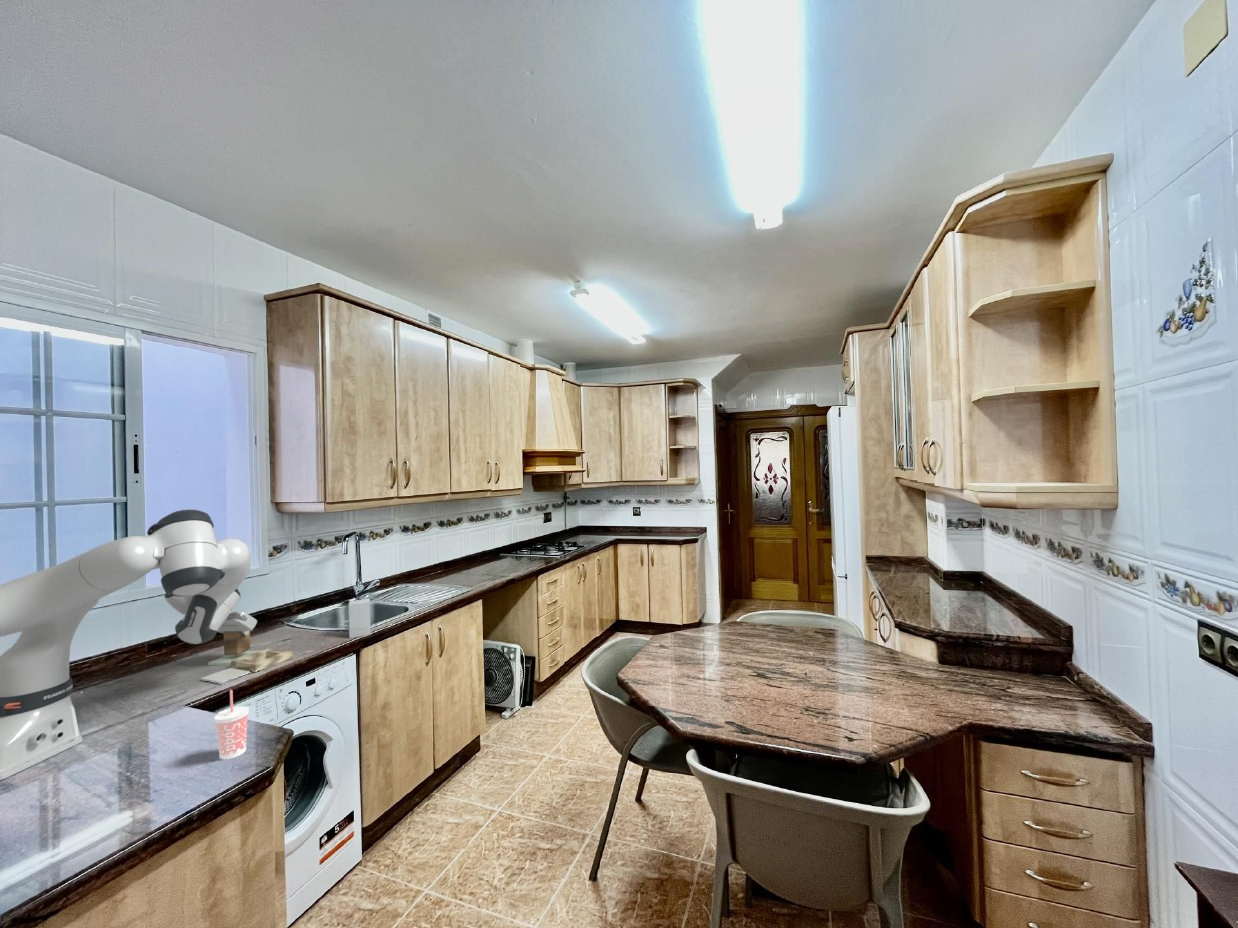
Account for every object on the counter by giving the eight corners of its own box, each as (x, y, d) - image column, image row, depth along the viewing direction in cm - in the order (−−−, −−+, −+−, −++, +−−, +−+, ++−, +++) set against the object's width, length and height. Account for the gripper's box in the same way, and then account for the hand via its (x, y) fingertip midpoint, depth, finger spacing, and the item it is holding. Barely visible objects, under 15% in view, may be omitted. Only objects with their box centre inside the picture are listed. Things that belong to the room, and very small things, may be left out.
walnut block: (237, 654, 164) (236, 622, 164) (224, 654, 165) (223, 622, 165) (250, 649, 169) (249, 617, 169) (237, 649, 170) (236, 617, 170)
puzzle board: (223, 685, 145) (223, 676, 145) (198, 680, 149) (198, 672, 149) (293, 658, 165) (292, 651, 165) (269, 655, 169) (269, 647, 169)
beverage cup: (209, 763, 104) (207, 698, 104) (223, 748, 110) (221, 686, 110) (242, 758, 106) (240, 693, 106) (255, 743, 112) (253, 682, 112)
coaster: (237, 665, 161) (237, 662, 161) (207, 665, 162) (207, 662, 162) (265, 652, 172) (265, 650, 172) (237, 652, 173) (237, 650, 173)
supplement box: (370, 634, 187) (369, 601, 187) (348, 638, 184) (347, 605, 184) (370, 629, 194) (369, 597, 194) (349, 633, 190) (348, 600, 190)
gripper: (245, 604, 159) (271, 624, 169) (189, 604, 161) (217, 624, 171) (233, 621, 155) (260, 641, 164) (176, 622, 157) (206, 642, 166)
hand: (238, 633), depth 168 cm, fingers closed on walnut block, 5 cm apart
